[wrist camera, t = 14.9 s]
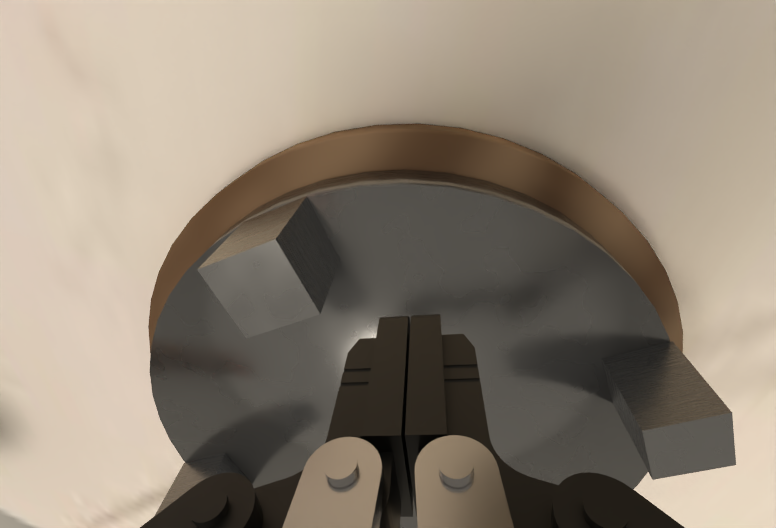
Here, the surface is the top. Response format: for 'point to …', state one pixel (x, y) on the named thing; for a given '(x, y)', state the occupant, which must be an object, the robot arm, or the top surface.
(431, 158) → the brown round board
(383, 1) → the top surface
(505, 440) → the lathe chuck plate
